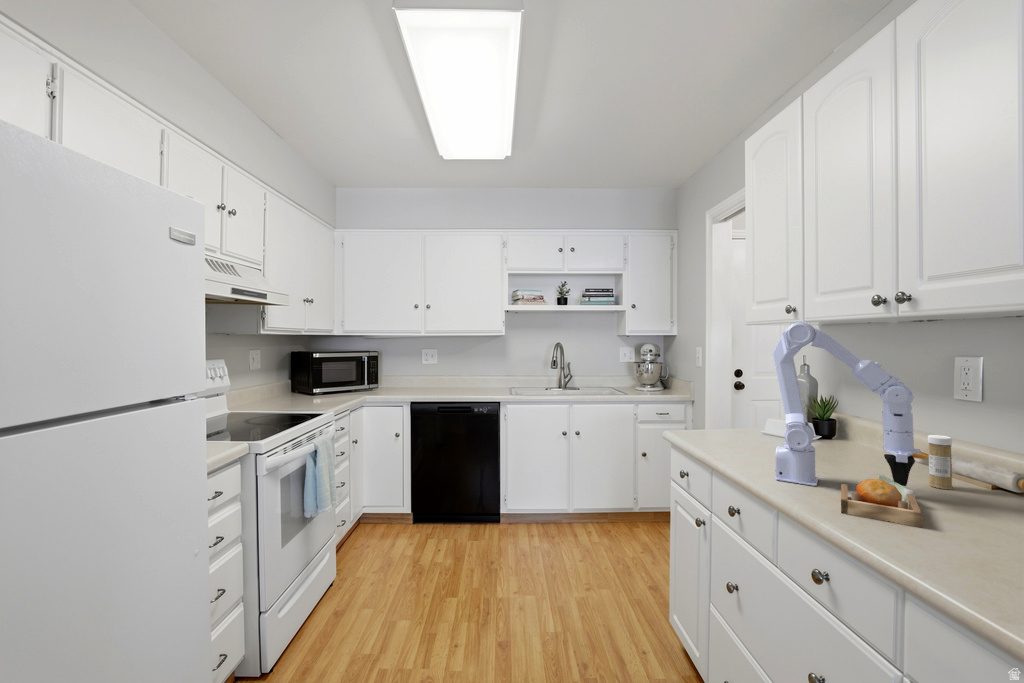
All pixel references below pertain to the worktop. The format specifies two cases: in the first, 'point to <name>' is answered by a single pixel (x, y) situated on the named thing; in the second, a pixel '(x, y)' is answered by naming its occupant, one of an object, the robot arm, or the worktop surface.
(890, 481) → the gate
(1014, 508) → the worktop surface
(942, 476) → the sprinkles bottle
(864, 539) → the worktop surface
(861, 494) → the fruit
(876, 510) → the cradle
